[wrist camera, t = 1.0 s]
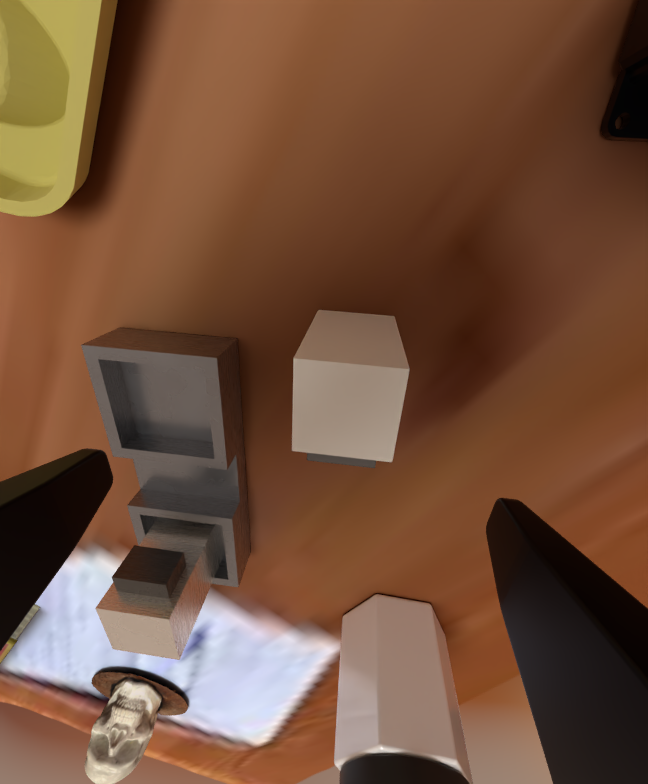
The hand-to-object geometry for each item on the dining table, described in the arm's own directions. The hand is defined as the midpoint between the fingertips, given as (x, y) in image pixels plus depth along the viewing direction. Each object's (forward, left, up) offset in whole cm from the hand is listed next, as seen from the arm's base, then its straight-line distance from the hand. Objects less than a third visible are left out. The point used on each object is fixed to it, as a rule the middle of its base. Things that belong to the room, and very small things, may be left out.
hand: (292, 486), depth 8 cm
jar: (-7, +26, -12) cm, 29 cm away
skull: (+21, +48, -12) cm, 54 cm away
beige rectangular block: (-1, +1, -12) cm, 12 cm away
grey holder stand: (+9, +10, -12) cm, 18 cm away
